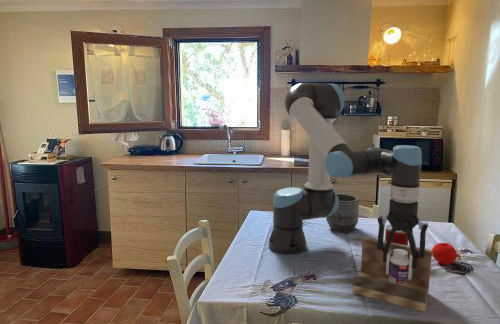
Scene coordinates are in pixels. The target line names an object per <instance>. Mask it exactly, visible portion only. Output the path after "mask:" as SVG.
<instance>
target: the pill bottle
mask: <svg viewBox="0 0 500 324" xmlns="http://www.w3.org/2000/svg"><path fill="white" fill-rule="evenodd" d="M407 257H408V252H407V251H405V250H402V249H394V250H393V256H392V257H391V258H390V266H389V282H390V283H393V284H397V285H401V286H406V285H407V284H408V271H409V260H408V259H407Z"/></svg>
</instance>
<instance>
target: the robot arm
mask: <svg viewBox="0 0 500 324" xmlns="http://www.w3.org/2000/svg"><path fill="white" fill-rule="evenodd" d="M344 107H345V96H344V92H343V90H342V89H341V87H340V86H339V85H337V84H336V83H329V82H323V83H322V82H321V83H320V82H300V83H296V84H295V85H293V86H292V87H290V89H289V90H288V91H287V93H286V95H285V99H284V108H285V111H286V113H287V114H288V115H289V117H290V118H291V119H292V120H293V121H295V122H296V121H297V123H298V124H299V125H300V126H301V128H302V129H303V130H304V131H305V132H306V134H307V135H308V137H309V154H308V155H309V157H308V174H307V175H308V177H307V178H308V181H307V182H305V183H304V185H303V186H304V187H303V189H302V188H300V187H295V186H294V187H292V186H291V187H284V188H281V189H278V190H276V192H275V193H274V194H273V200H272V201H273V202H272V206H273V207H272V208H273V209H272V210H273V214H272V216H273V221H272V223H273V224H272V225H273V226H272V231H271V233H270V236H269V238H268V248H269V247H270V248H269V249H270V250H272V251H273V252H275V253H279V254H287V255H290V254H298V253H299V254H300V253H302V252H304V251H305V250H306V249H307V239H306V235H305V233H304V230H303V223H304V222H303V221H307V220H314V219H326V217H327V216H331V215H333V214H334V213H335V212H336V210H337V208H338V204H339V198H338V196H337V195H338V194H339V193H338V192H337V190H336V189H334V185H333V184H332V183H331V181H330V180H331V177H332V178H347V177H355V176H356V177H357V176H368V175H378V174H379V175H384V176H389V177H390V192H389V193H390V195H389V197H390V199H389V208H388V214H387V215H385V216H383V215H380V216H379V217H378V218H377V223H378V234H377V235H378V236H377V237H378V238H377V240H378V243H377V249H378V250H382V251H383V262H385V263H386V274H387V275H389V266H390V258H391V251H388V250H389V247H390V245H391V242H392V240H393V237H394V235H395V232H396V231H403V232H406V234H407V236H408V246H410V249H411V253H412V255H410V258H409V271H408V279H409V280H411V277H412V268H414V269H416V267H417V259H418V258H424V255H425V249H426V233H427V231H428V227H429V223H428V222H423V221H421V220H419V217H418V212H419V211H418V210H419V202H418V200H419V198H420V188H421V187H420V180H421V171H422V164H423V160H422V157H423V155H422V149H421V148H420V147H419V146H416V145H408V144H407V145H405V144H402V145H401V144H399V145H395V146H394V147H393V148H392V150H389V149H385V148H381V147H368V148H366V149H360V150H353V149H352V148H351V147H350V146H349V145H348V144H347V142H346V141H345V140H344V139H343V138H342V137H341V135H339V134H338V132H337V131H336V130H335V129H334V128H333V126H334V122H335V121H337V120H338V114H340V113H341V112H342V111H343V109H344ZM387 222H388V223H389V225H391V226H392V229H391V232H390V235H389V237H388V240H387V242H386V245H385V246H384V245H383V241H384V239H385V236H384V235H385V229H386V223H387ZM416 226H418V230H420V234H419V248H420V252H417V248H416V247H417V245H416V240H415V236H414V231H413V229H415V228H416Z"/></svg>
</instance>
